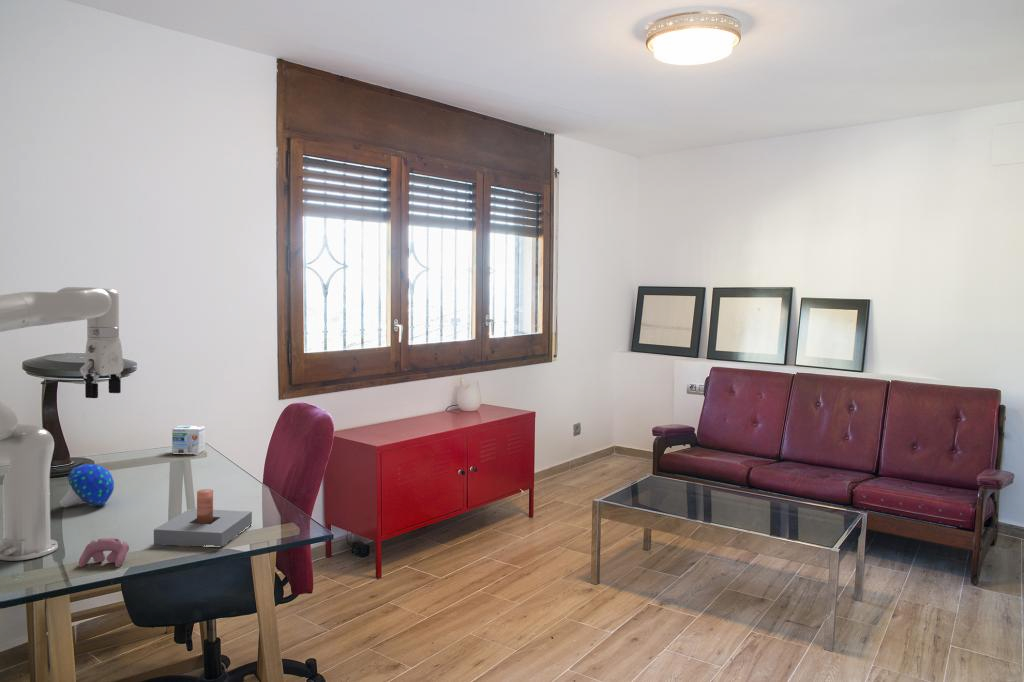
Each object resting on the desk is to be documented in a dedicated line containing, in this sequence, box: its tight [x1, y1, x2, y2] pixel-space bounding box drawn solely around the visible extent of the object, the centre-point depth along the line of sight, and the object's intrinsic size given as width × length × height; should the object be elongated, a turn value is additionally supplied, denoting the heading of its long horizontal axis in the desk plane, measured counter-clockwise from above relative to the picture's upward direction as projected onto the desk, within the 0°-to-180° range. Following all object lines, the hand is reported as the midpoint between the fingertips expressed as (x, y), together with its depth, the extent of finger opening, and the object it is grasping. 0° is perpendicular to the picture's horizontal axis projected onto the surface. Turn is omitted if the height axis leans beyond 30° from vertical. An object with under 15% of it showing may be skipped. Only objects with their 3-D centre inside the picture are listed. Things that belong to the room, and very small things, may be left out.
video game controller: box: [78, 537, 130, 569], centre depth 166 cm, size 10×5×7 cm, turn 93°
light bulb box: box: [171, 425, 206, 454], centre depth 279 cm, size 11×7×11 cm, turn 95°
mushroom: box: [59, 463, 115, 508], centre depth 208 cm, size 14×14×15 cm
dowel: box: [196, 488, 214, 524], centre depth 187 cm, size 4×4×12 cm
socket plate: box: [153, 508, 253, 548], centre depth 187 cm, size 18×18×4 cm
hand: (103, 395), depth 191 cm, fingers open, 9 cm apart
